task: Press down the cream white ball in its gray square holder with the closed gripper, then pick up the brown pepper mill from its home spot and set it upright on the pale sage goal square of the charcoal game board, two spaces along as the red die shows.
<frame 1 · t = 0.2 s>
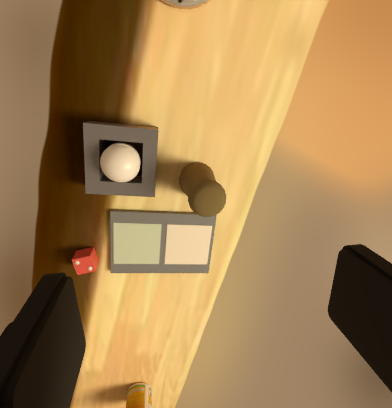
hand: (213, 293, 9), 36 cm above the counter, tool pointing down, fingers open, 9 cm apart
gray square holder: (123, 157, 42), on the counter
game board: (162, 242, 48), on the counter
supplement bottle: (139, 389, 61), on the counter
red die: (87, 255, 47), on the counter
brown pepper mill: (196, 179, 45), on the counter
cream white ball: (120, 163, 38), point 5 cm above the counter, slide at 0.0 cm
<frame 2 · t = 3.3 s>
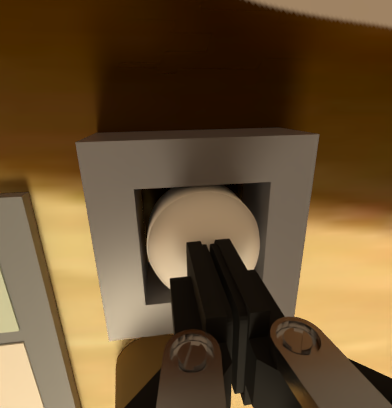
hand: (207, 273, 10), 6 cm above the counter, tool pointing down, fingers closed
gray square holder: (193, 214, 16), on the counter
brown pepper mill: (157, 362, 20), on the counter
cream white ball: (203, 241, 13), point 3 cm above the counter, slide at 1.1 cm
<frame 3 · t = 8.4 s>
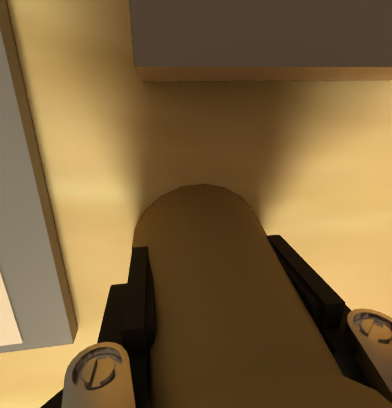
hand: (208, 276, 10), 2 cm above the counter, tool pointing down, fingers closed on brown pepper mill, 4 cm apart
brown pepper mill: (197, 244, 13), on the counter, touching gripper
when the fingers open (4 cm above the counter, at t = 13.7 s): brown pepper mill stays where it is, resting on game board.
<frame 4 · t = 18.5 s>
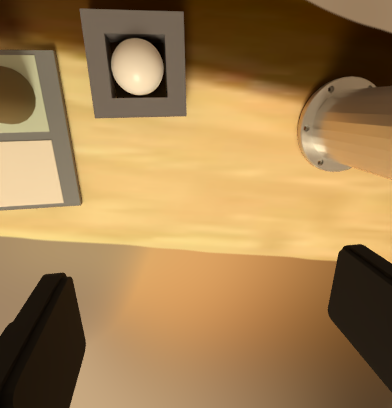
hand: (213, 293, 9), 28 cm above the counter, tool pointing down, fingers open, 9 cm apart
gray square holder: (139, 71, 32), on the counter
game board: (17, 136, 32), on the counter
brown pepper mill: (7, 96, 30), point 1 cm above the counter, touching game board
cream white ball: (137, 67, 29), point 3 cm above the counter, slide at 1.3 cm
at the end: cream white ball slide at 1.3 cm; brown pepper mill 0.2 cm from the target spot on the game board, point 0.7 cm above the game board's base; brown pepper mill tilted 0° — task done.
